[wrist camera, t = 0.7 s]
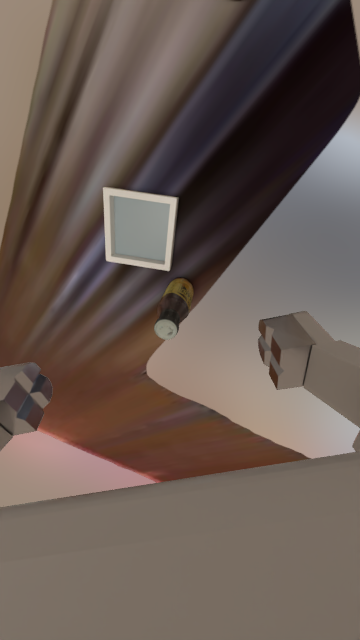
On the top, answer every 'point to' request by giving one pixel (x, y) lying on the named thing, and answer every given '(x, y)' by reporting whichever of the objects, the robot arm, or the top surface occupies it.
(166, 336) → the sauce bottle
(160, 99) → the top surface
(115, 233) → the tray
